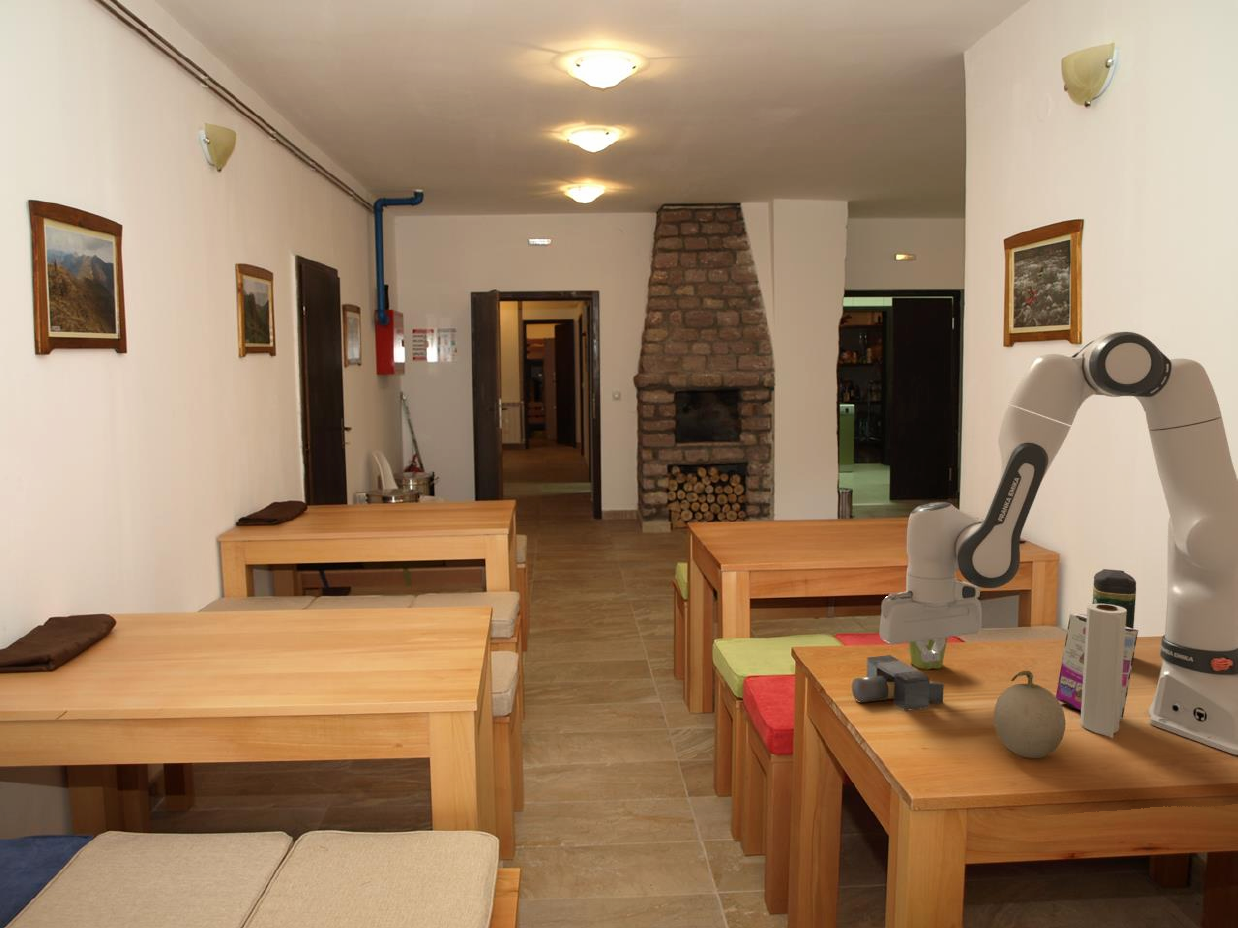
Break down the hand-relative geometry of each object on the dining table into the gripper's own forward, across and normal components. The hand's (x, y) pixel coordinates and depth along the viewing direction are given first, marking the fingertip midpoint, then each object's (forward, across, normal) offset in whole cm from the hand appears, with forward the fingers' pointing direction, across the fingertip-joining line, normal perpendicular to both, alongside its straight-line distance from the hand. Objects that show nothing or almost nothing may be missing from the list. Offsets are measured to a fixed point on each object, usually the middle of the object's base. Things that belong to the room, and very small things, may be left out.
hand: (930, 660), depth 180 cm
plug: (+6, -9, +1) cm, 11 cm away
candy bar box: (+7, +22, -16) cm, 28 cm away
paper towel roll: (+8, +18, -23) cm, 30 cm away
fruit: (+7, -1, -27) cm, 28 cm away
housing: (+6, -5, +1) cm, 8 cm away
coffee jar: (+8, +49, +7) cm, 50 cm away
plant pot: (+7, +9, +15) cm, 19 cm away
